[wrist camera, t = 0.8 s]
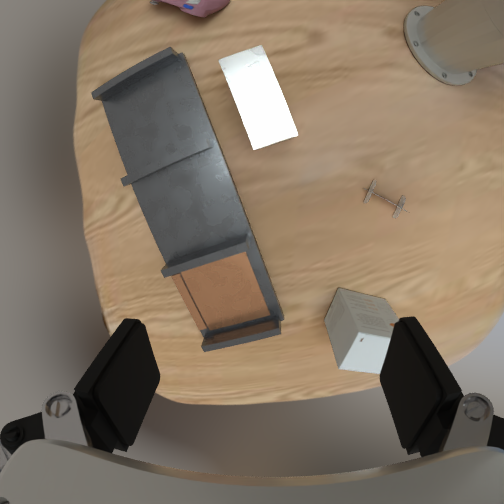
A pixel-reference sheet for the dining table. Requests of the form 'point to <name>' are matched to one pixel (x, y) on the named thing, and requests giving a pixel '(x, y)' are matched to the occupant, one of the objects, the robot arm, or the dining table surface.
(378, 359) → the small box
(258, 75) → the panel
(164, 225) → the slot rack
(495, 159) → the dining table surface
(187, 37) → the dining table surface
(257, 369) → the dining table surface
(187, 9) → the video game controller
